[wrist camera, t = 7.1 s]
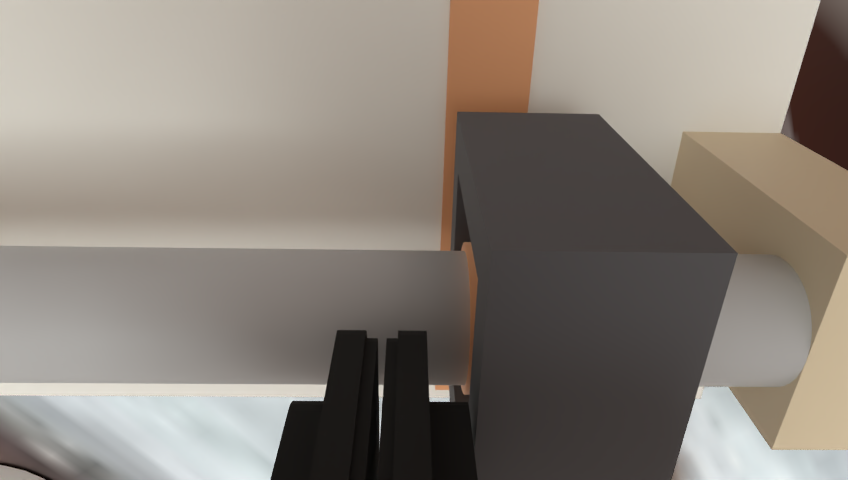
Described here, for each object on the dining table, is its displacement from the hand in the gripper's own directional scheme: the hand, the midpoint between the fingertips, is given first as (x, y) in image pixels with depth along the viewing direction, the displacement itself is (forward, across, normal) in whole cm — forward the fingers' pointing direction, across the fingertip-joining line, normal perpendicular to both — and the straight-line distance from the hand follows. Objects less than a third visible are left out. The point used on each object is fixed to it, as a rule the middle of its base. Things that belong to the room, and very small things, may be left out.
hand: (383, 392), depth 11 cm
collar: (+6, -3, 0) cm, 7 cm away
